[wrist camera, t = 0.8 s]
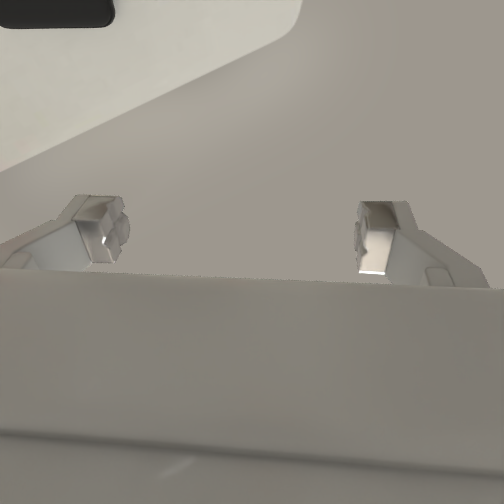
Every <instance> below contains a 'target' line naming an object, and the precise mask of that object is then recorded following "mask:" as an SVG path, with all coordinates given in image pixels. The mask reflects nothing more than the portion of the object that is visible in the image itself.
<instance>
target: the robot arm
mask: <svg viewBox="0 0 504 504" xmlns="http://www.w3.org/2000/svg"><path fill="white" fill-rule="evenodd" d="M124 207H125V206H124V203H123V200H122V198H121V197H120V196H111V195H87V194H79V195H75V197H74V198H73V199H72V200H71V202H70V203H69V204H68V205H67V207H66V208H65V209H64V210H63V211H62V213H61V214H60V215H59V217H58V218H57V219H56V220H50V221H48V222H46V223H44V224H42V225H40V226H38V227H36V228H34V229H32V230H29V231H27V232H25V233H23V234H21V235H19V236H17V237H15V238H13V239H11V240H9V241H7V242H5V243H2V244H1V245H0V504H504V289H493V288H490V286H489V285H488V282H487V280H486V279H485V276H484V274H483V272H482V270H481V268H479V267H478V266H476V265H474V264H473V263H472V262H470V261H469V260H467V259H466V258H464V257H463V256H461V255H460V254H458V253H457V252H455V251H454V250H452V249H451V248H449V247H448V246H446V245H444V244H443V243H441V242H440V241H438V240H437V239H435V238H434V237H432V236H431V235H429V234H428V233H426V232H425V231H423V230H418V227H417V225H416V222H415V219H414V216H413V214H412V211H411V208H410V206H409V203H408V202H407V201H386V202H385V201H384V202H383V201H380V202H379V201H378V202H374V201H373V202H372V201H371V202H370V201H367V202H366V201H365V202H364V201H363V202H361V201H360V202H359V206H358V211H357V213H358V219H359V220H358V221H357V222H356V224H355V231H354V246H355V251H357V258H356V260H357V266H358V272H359V273H372V274H373V273H374V274H385V276H386V277H387V278H388V279H389V280H390V281H391V283H392V284H372V283H348V282H347V283H346V282H323V281H299V280H274V279H250V278H224V277H201V276H175V275H152V274H151V275H150V274H128V273H127V274H126V273H103V272H102V273H101V272H82V271H83V270H84V269H86V268H87V267H89V266H90V265H91V264H92V263H115V262H116V260H117V259H118V257H119V255H120V253H121V251H122V250H121V247H120V246H121V245H123V244H124V243H126V242H127V240H128V238H129V232H130V224H129V220H128V217H127V216H126V215H125V214H124V213H123V212H122V211H123V209H124Z"/></svg>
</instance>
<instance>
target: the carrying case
mask: <svg viewBox="0 0 504 504" xmlns="http://www.w3.org/2000/svg"><path fill="white" fill-rule="evenodd" d="M114 17H115V8H114V4H113V0H0V26H1V27H4V28H8V29H49V28H102V27H106V26H108V25H110V24H111V23H112V22H113V20H114Z"/></svg>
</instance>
